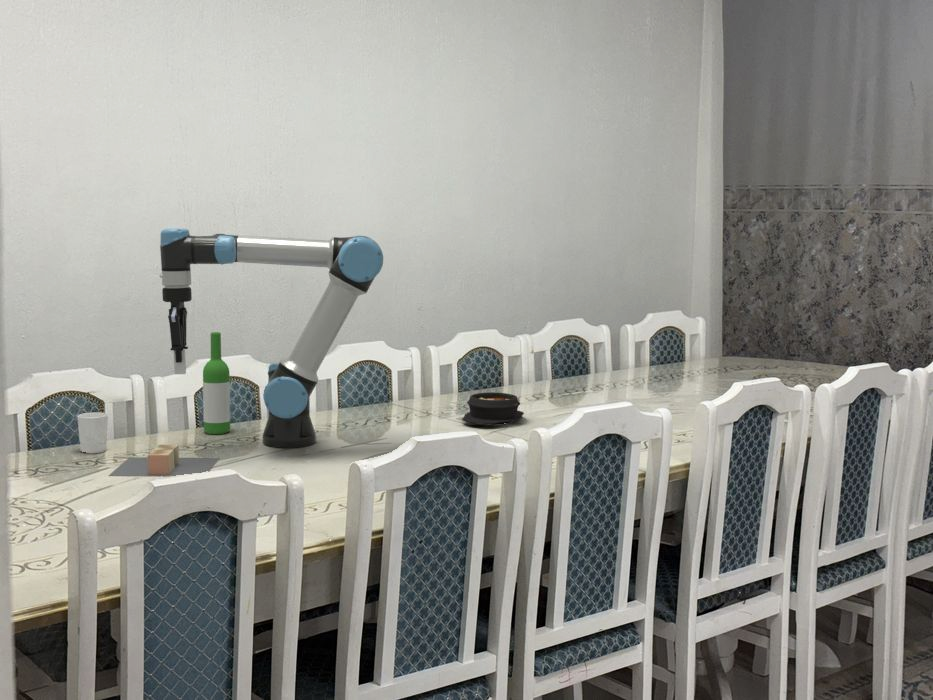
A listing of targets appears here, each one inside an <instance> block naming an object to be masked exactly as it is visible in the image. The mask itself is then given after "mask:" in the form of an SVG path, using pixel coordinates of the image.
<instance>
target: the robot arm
mask: <svg viewBox="0 0 933 700" xmlns="http://www.w3.org/2000/svg"><path fill="white" fill-rule="evenodd" d="M159 243H160V245H159V248H160V249H159V251H160V265H161V273H160V274H159V278H160V279H161V285H162V286H163V288H162V290H161V291H162V301H163V302H165V303H170V308H169V309H168V316H167V318H168V323H169V331H170V332H169V333H170V342H171V348H170V351H171V352H172V351H173V362H174V363H173V365H174V366H173V367H174V375H185V374H186V373H187V370H186V369H187V367H186V366H187V365H186V350H188V349H189V346H187V319H188V318H187V316H188V311H187V307H185V303H186V302H191V301H192V298H193V297H192V294H193V293H192V288H191V285H192V273H191V272H192V271H191V265H221V266H222V265H228V264H231V265H232V264H234V263H243V264H244V263H245V264H259V265H260V264H261V265H262V264H263V265H278V266H280V265H281V266H296V267H297V266H298V267H311V268H312V267H313V268H314V267H315V268H328V270H329V271H328V278H329V282H328V284H327V286H326V288H325V290H324V292H323V294H322V296H321V298H320V299H319V300H318V303H317V305H316V307H315V308H314V310H313V312H312V314H311V316H310V317H309V320H308V321H307V323H306V324H305V327H304V328H303V331H302V332H301V334H300V336H299V337H298V339H297V341H296V343H295V345H294V347H293V349H292V350H291V353H290V354H289V356H288V357H287V358H283V359H281V360H280V361H279V363H271V364H269V366H268V370H267V375H268V376H267V377H268V379H267V380H268V383H267V384H266V386H265V388H264V389H263V401H264V405H265V407H266V409H267V410H268V416H267V421H266V424H265V427H264V430H263V433H262V445H265V446H268V447H272V448H273V447H274V448H282V449H283V448H286V449H287V448H289V449H290V448H291V449H292V448H301V447H307V446H311V445H314V444H315V443H316V442H317V434H316V431H315V429H314V425H313V421H312V419H311V415H310V413H311V412H310V411H311V410H310V409H311V407H310V402H311V401H310V400H311V399H310V398H311V395H312V394H313V391H314V389H315V387H316V386H317V384H318V382H319V377H318V373H317V372H318V371H319V369H320V367H321V365H322V363H323V361H324V360H325V357H327V356H326V355H327V354H328V353H329V350H330V348H331V347H332V345H333V344H334V341H335V339H336V338H337V335H338V333H339V332H340V330H341V328H342V327H343V325H344V323H345V321H346V320H347V318H348V316H349V314H350V312H351V310H352V309H353V306H354V304H355V302H357V299H358V298H359V296H362V295H365V294H367V293H368V290H369V289H370V287H371V285H372V284H373V282H374V280H375V279H376V277H377V276H378V275H379V273H380V272H381V270H382V268H383V264H384V254H383V251H382V249H381V246H380V245H379V244H378V242H376V241H375V240H374V239H372V238H371V237H368V236H365V235H355V236H346V237H340V236H339V237H334V236H333V237H331V238H330V239H329V240H324V239H307V238H306V239H305V238H291V237H290V238H289V237H288V238H287V237H271V236H270V237H269V236H255V235H254V236H253V235H234V234H225V233H215V234H213V235H191V234H190V231H189V229H188V228H164V229H162V230H161V232H160V242H159Z"/></svg>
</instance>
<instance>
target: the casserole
mask: <svg viewBox="0 0 933 700" xmlns="http://www.w3.org/2000/svg"><path fill="white" fill-rule="evenodd" d="M466 403H467V405H468V409H469V412H466V413H465V414H464V416H463V417H462V418H461V420H462V421H463V422H466V423H469V424H470V423H471V424H478V425H485V424H504V423H509V424H511V423H510V422H512V423H513V422H516V421H520V420H521V419H522V418H523V415H524V414H525V412H524V411H521V410H518V408H519V406H520V405H521V402H520V401H519V400H518V396H517V395H515V394H512V393H511V394H510V393H507V392H491V391H490V392H479V393H473V394H470V397H469V399H468V400H467V402H466ZM504 425H505V424H504Z"/></svg>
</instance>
